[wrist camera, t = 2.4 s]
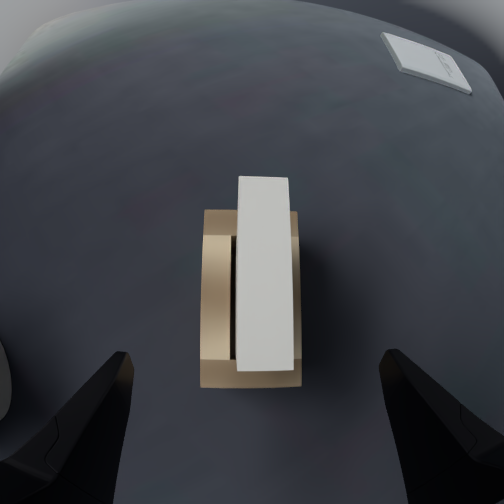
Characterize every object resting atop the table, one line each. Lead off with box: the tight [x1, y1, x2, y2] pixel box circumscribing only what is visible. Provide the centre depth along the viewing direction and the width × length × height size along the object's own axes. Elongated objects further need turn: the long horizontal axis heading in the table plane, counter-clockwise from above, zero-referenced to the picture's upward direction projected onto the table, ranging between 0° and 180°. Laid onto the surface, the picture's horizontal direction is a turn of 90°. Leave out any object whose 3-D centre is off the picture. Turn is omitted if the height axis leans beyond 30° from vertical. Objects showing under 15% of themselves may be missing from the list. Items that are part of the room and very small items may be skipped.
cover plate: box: [235, 176, 294, 371], centre depth 14 cm, size 6×2×11 cm, turn 0°
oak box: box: [200, 210, 302, 388], centre depth 18 cm, size 10×5×4 cm, turn 0°
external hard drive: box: [381, 32, 472, 95], centre depth 29 cm, size 2×8×12 cm
